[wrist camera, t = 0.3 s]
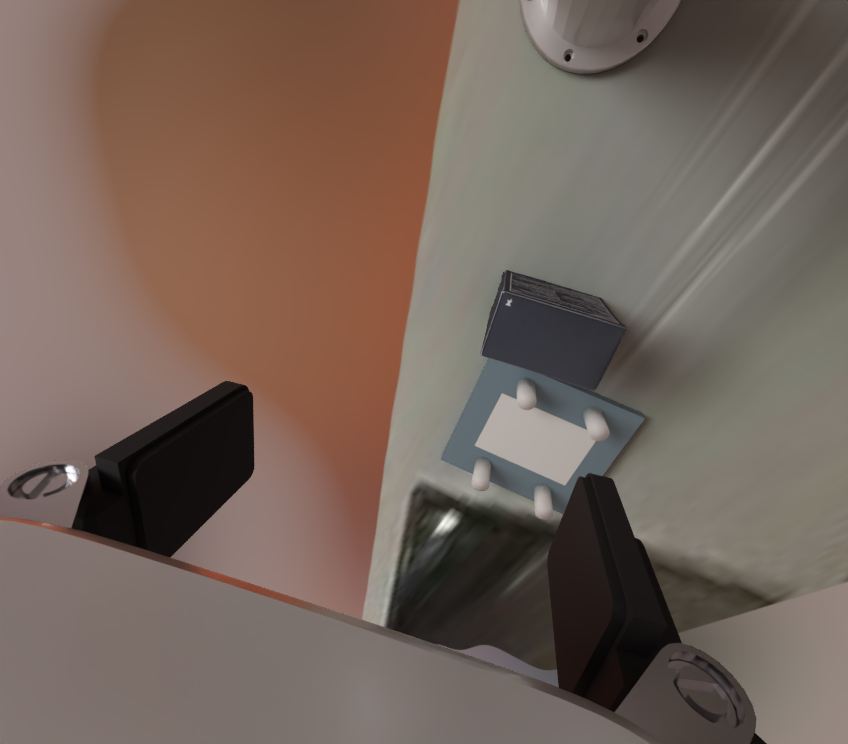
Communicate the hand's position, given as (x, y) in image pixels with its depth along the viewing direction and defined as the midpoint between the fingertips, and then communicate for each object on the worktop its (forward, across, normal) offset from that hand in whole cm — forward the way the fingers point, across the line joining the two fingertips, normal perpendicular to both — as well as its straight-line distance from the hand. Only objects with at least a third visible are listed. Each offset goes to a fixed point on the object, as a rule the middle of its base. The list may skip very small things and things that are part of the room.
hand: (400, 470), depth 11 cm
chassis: (+35, -10, +17) cm, 40 cm away
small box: (+35, -7, +2) cm, 35 cm away
